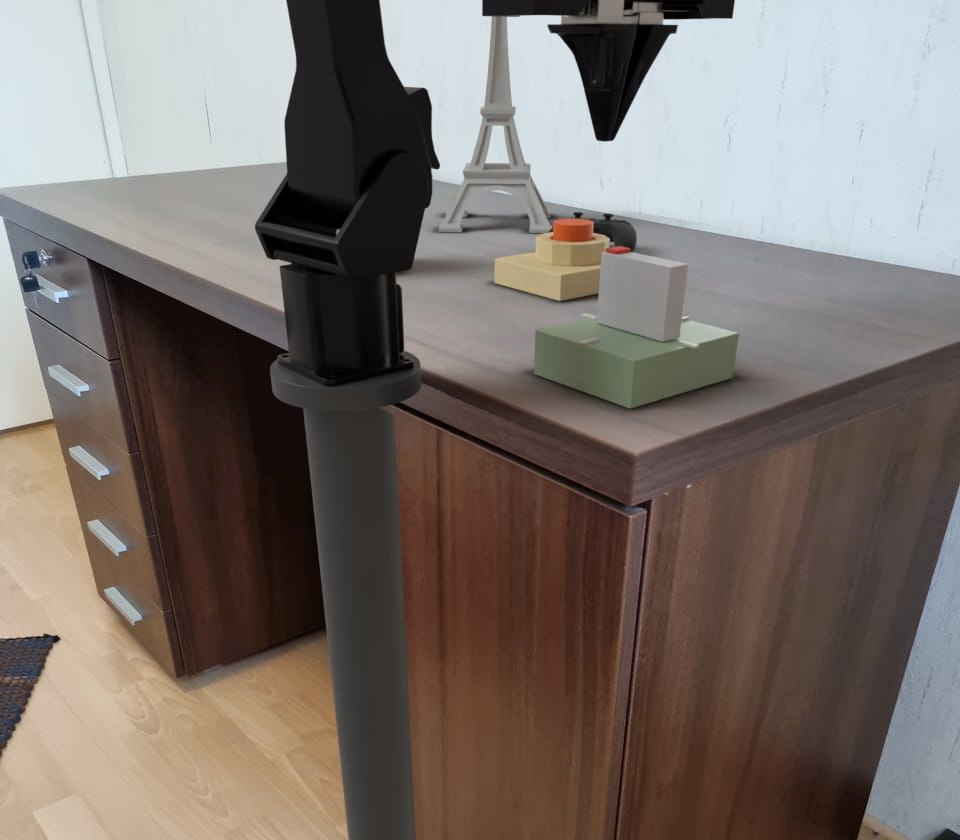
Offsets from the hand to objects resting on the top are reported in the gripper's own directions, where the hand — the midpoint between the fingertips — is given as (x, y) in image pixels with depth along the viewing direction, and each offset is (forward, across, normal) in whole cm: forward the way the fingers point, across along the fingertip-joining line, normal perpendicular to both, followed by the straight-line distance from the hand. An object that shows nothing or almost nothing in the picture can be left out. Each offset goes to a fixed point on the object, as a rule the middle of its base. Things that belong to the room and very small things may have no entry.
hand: (604, 140), depth 66 cm
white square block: (+10, +7, +11) cm, 16 cm away
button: (+9, -9, -12) cm, 18 cm away
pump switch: (+13, -9, -12) cm, 20 cm away
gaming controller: (+13, -22, -22) cm, 34 cm away
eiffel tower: (+13, -25, -42) cm, 51 cm away
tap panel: (+13, +7, +11) cm, 18 cm away
